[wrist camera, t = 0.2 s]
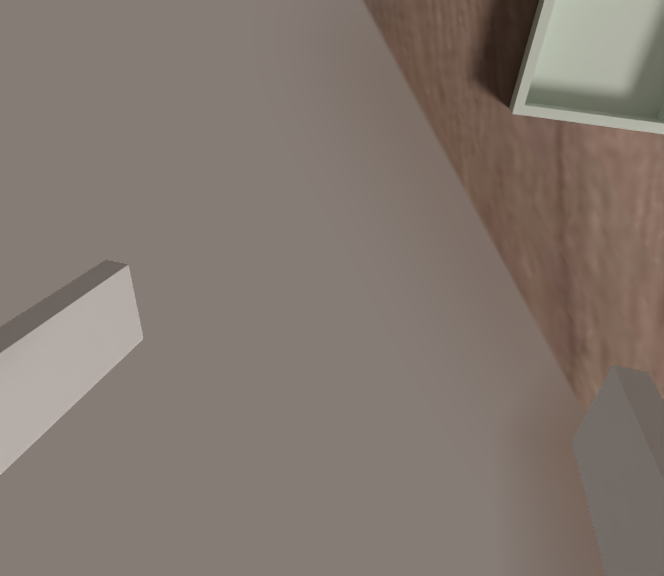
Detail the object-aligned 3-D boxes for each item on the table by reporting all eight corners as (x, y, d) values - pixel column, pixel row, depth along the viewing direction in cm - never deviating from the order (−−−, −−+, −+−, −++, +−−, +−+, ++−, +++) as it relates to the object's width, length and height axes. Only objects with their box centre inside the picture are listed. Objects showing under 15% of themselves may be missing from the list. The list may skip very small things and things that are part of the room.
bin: (556, -64, 27) (566, -79, 24) (740, -54, 25) (775, -68, 22) (508, 107, 32) (512, 113, 29) (658, 128, 30) (678, 136, 27)
